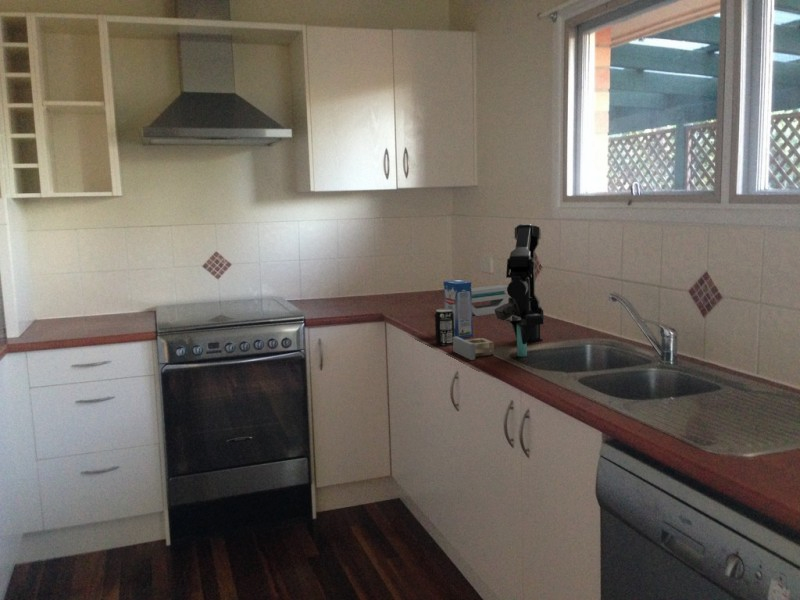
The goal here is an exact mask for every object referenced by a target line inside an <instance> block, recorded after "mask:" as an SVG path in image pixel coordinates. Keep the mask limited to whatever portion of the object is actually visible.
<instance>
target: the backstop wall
mask: <svg viewBox="0 0 800 600" xmlns="http://www.w3.org/2000/svg"><path fill="white" fill-rule="evenodd" d="M467 340H468V339H465V338H460V337H457V336H456V337H453V344H452V347H453V350H452V351H453V353H456V354H458V355H460V356H462V357H464V358H466V359H467V360H470V361H473V360H476V357H475V344H474V343H471V342H469V341H467Z"/></svg>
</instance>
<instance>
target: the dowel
mask: <svg viewBox="0 0 800 600" xmlns="http://www.w3.org/2000/svg"><path fill="white" fill-rule="evenodd" d="M527 344H528V342H527V343H526V344H523V343H522V337H521V329H520V327H519V326H518V325H517V338H516V345H517V346H516V348H517V349H516V351H517V352H516V353H517V357H520V358H521V357H527V356H528V349H527V348H528V347H527Z"/></svg>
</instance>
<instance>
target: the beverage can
mask: <svg viewBox="0 0 800 600" xmlns="http://www.w3.org/2000/svg"><path fill="white" fill-rule="evenodd" d="M434 324H435V329H434V330H435V343H437V345H438V346H453V337H455V335H454V314H453V312H452V309H445V308H439V309H436V310H435V313H434Z"/></svg>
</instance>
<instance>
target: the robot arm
mask: <svg viewBox="0 0 800 600" xmlns="http://www.w3.org/2000/svg"><path fill="white" fill-rule="evenodd" d="M541 234H542V233H541V228H540V226H537V225H534V224H531V223H521V224H518V225H517V226H515V227H514V239H515V242H516V243H515V248H514V249H513V250H512V251H511V252H510V254H509V258H507V261H506V271H505V272H506V273H505V274H506V278H507V279H508V278H509V279H510V282H509V283H508V285H507V286H508V287H507V290H506V291H507V293H506V294H508V295H509V299H508V302H507V303H506V304H504V305H502V306H500V307H498V308H496V309H495V310H494V311H495V313H494V314H495V316H496V318H497V320H501V321H506V322H507V323H508V324H510V325H511V328H512V330H513V332H514V336H515V339H517V325H518V326H519V327H520V329H521V337H522V343H523V344H526V343H527V344H528V343H531V342H539V341H543V338H541V325H544V324H545V315H544V313H545V312H544V309H543V307H542V306H541V304H540V303H541V302H540V299H539V298H538V296H537V294H536V277H535V276H536V274H535V273H536V269H535V268H536V267H535V266H536V265H535V262H536V261H535V251H536V250H537V248H538V247H539V245H540V240H541V239H542V236H541Z"/></svg>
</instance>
